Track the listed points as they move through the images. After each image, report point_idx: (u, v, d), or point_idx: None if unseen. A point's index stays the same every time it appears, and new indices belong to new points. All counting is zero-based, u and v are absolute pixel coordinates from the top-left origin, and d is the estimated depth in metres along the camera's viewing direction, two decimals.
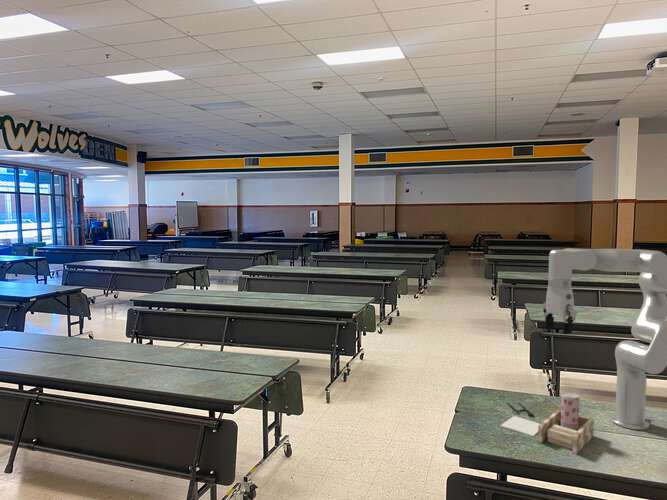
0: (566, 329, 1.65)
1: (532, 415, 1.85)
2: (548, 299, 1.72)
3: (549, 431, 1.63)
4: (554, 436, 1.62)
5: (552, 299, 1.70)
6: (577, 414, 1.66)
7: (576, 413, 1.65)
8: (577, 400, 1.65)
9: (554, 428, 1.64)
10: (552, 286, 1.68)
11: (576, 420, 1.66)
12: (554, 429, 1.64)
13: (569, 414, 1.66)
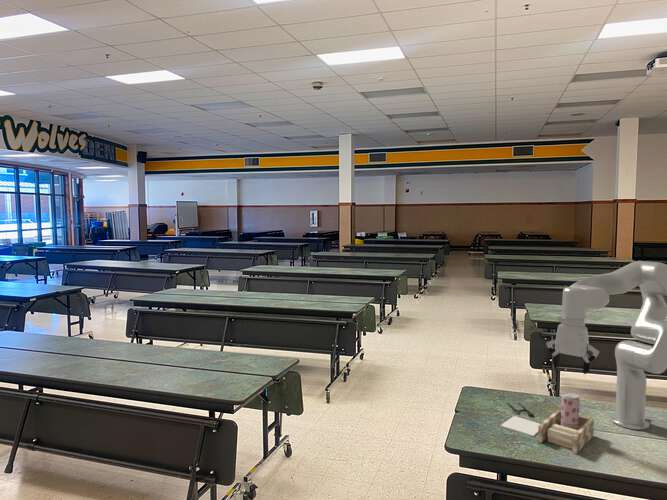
0: None
1: (532, 415, 1.85)
2: None
3: (549, 431, 1.63)
4: (554, 436, 1.62)
5: None
6: (577, 414, 1.66)
7: (576, 413, 1.65)
8: (577, 400, 1.65)
9: (554, 428, 1.65)
10: None
11: (576, 420, 1.66)
12: (554, 428, 1.64)
13: (569, 414, 1.66)
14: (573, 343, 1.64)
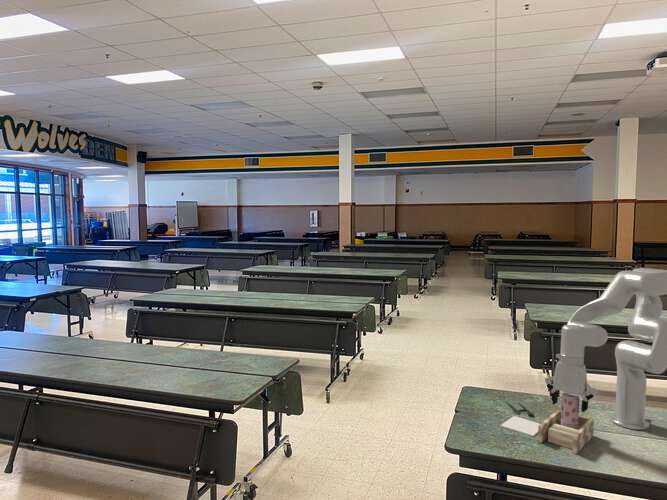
0: None
1: (532, 415, 1.85)
2: None
3: (550, 430, 1.64)
4: (555, 435, 1.62)
5: None
6: (577, 414, 1.66)
7: (576, 413, 1.65)
8: (577, 400, 1.65)
9: (555, 427, 1.65)
10: None
11: (576, 420, 1.66)
12: (555, 428, 1.64)
13: (569, 414, 1.66)
14: (571, 381, 1.64)
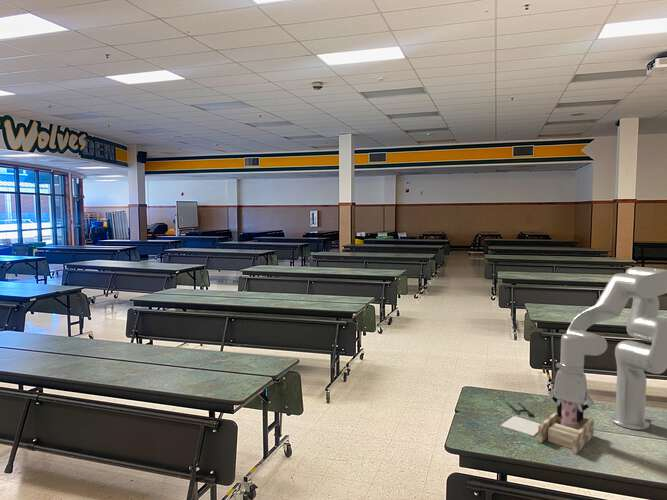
0: None
1: (532, 415, 1.85)
2: None
3: (550, 430, 1.64)
4: (555, 435, 1.63)
5: None
6: None
7: (576, 413, 1.65)
8: None
9: (555, 427, 1.65)
10: None
11: (576, 420, 1.66)
12: (555, 428, 1.64)
13: (569, 414, 1.66)
14: (572, 390, 1.65)
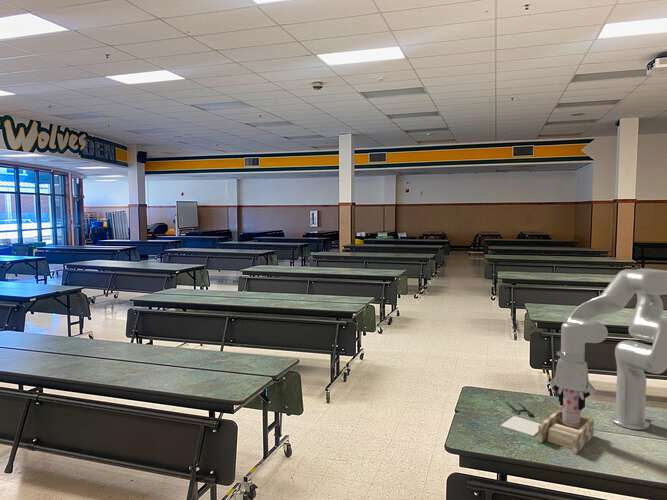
0: None
1: (532, 415, 1.85)
2: None
3: (550, 430, 1.64)
4: (555, 435, 1.63)
5: None
6: None
7: (578, 401, 1.65)
8: None
9: (555, 427, 1.65)
10: None
11: (578, 408, 1.66)
12: (555, 428, 1.64)
13: (571, 402, 1.66)
14: (573, 378, 1.65)
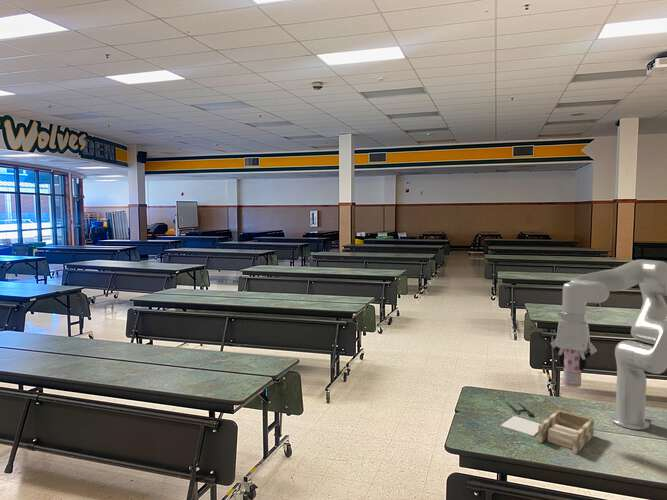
0: None
1: (532, 415, 1.85)
2: None
3: (550, 430, 1.64)
4: (555, 435, 1.63)
5: None
6: None
7: (579, 361, 1.64)
8: None
9: (555, 428, 1.65)
10: None
11: (579, 368, 1.65)
12: (555, 429, 1.64)
13: (572, 363, 1.65)
14: (574, 338, 1.64)
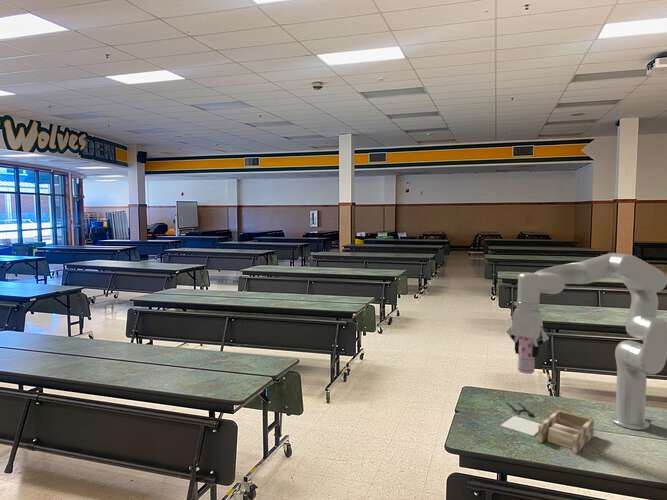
0: None
1: (532, 415, 1.85)
2: None
3: (550, 430, 1.64)
4: (555, 435, 1.63)
5: None
6: None
7: (532, 348, 1.71)
8: None
9: (555, 427, 1.65)
10: None
11: (532, 355, 1.72)
12: (555, 428, 1.64)
13: (525, 350, 1.72)
14: (528, 326, 1.71)
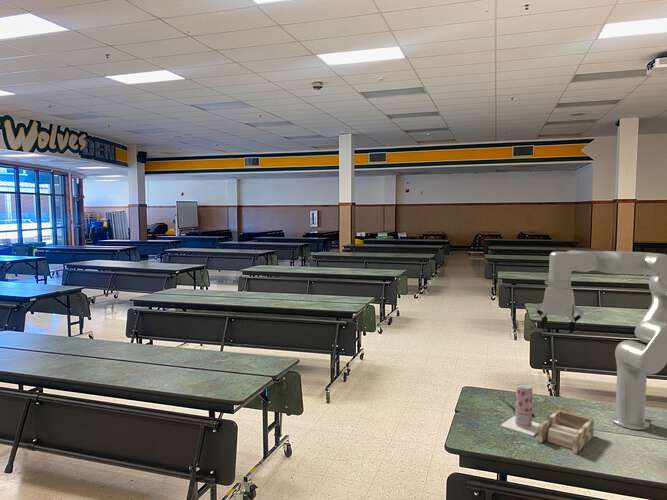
0: None
1: (533, 415, 1.85)
2: None
3: (550, 431, 1.63)
4: (555, 436, 1.62)
5: None
6: (530, 404, 1.73)
7: (529, 403, 1.73)
8: (530, 391, 1.73)
9: (555, 428, 1.64)
10: None
11: (529, 410, 1.73)
12: (555, 429, 1.64)
13: (522, 404, 1.73)
14: (559, 304, 1.72)
